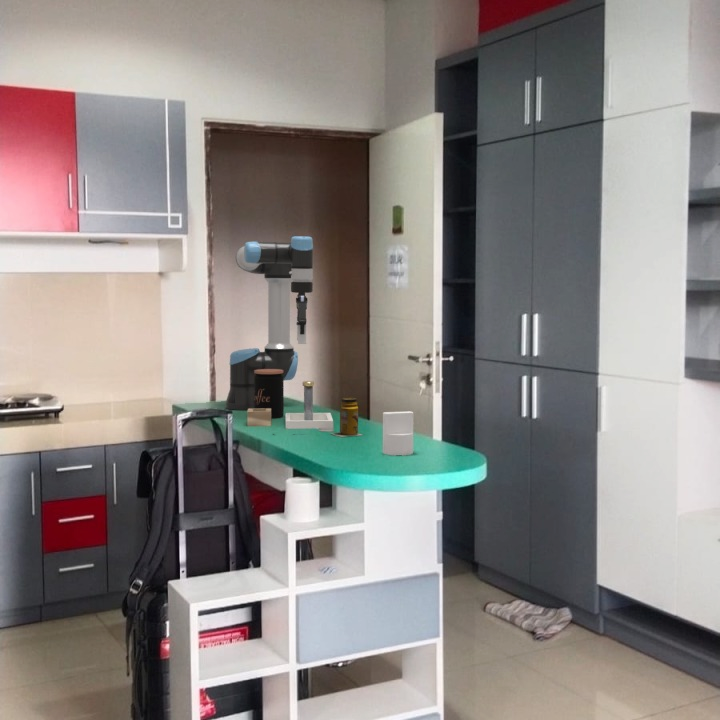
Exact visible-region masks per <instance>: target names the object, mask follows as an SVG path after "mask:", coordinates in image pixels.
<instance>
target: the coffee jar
mask: <svg viewBox="0 0 720 720" xmlns="http://www.w3.org/2000/svg"><path fill="white" fill-rule="evenodd" d="M254 373H255V374H256V375H255V377H254V409H257V408H271V420H272V419H281V418H283V417H284V416H285V415H284V413H285V411H284V407H285V406H284V404H285V403H284V392H285V391H284V390H285V389H284V381H285V380H284V378H283V376H282V374H283V370H280V369H258V370H254Z"/></svg>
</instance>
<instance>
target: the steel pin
mask: <svg viewBox="0 0 720 720" xmlns="http://www.w3.org/2000/svg"><path fill="white" fill-rule="evenodd" d="M302 386H303V395H304V396H303V408H304V409H303V413H304V420H313V413H314V409H313V408H314V386H315V381H313V380H312V381H311V380H307V381H306V380H304V381H302Z"/></svg>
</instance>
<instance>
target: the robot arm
mask: <svg viewBox="0 0 720 720" xmlns="http://www.w3.org/2000/svg"><path fill="white" fill-rule="evenodd" d="M313 241H314V240H313V238H312V237H311V236H303V235H302V236H300V235H299V236H298V235H297V236H292V237H291V240H290V242H289V241H287V242H286V241H283V242H282V241H274V242H273V241H255V240H254V241H247V242H245V244H244V246H241V247H240V248H239V249H237V252H236V253H235V262H236V264H237V266H238V268H239V269H241V270H242V271H244V272H247V273H250V274H255V275H264V278H263V279H264V280H265V281H266V282H267V285H268V287H267V288H268V293H267V294H268V297H267V301H268V303H267V304H268V306H267V307H268V308H267V310H268V311H267V312H268V317H267V318H268V321H267V322H268V325H267V327H268V331H267V332H268V333H267V334H268V335H267V338H268V339H267V340H268V342H267V344H266V345H265V346H264V351H261V350H260V348H256V347H255V348H246V349H245V348H244V349H238V350H234V351H232V352H231V353H230V355H229V392H228V393H227V396H226V397H227V398H226V400H225V408H226V409H228V410H235V411H236V410H237V411H243V410H245V411H248V409H254V377H255V375H256V374H255V373H254V370H258V369H280V370H283V374H282V376H283V378H284V381H291V380H293V379H294V378H295V377H296V374H297V371H298V361H299V354H298V352H297V351H296V350H294V346H293V345H292V344H291V318H290V317H291V315H290V314H291V312H290V311H291V293H298V294H297V296H296V298H295V304H296V309H297V312H296V313H297V315H296V316H297V317H296V333H297V334H296V340H297V344H298V345H306V344H307V308H308V297H307V296H306V293H308V294H311V293H313V288H314V287H313V285H314V283H313V282H312V281H313V280H314V269H313V263H314V260H313V257H314V253H313V252H314V244H313Z"/></svg>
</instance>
